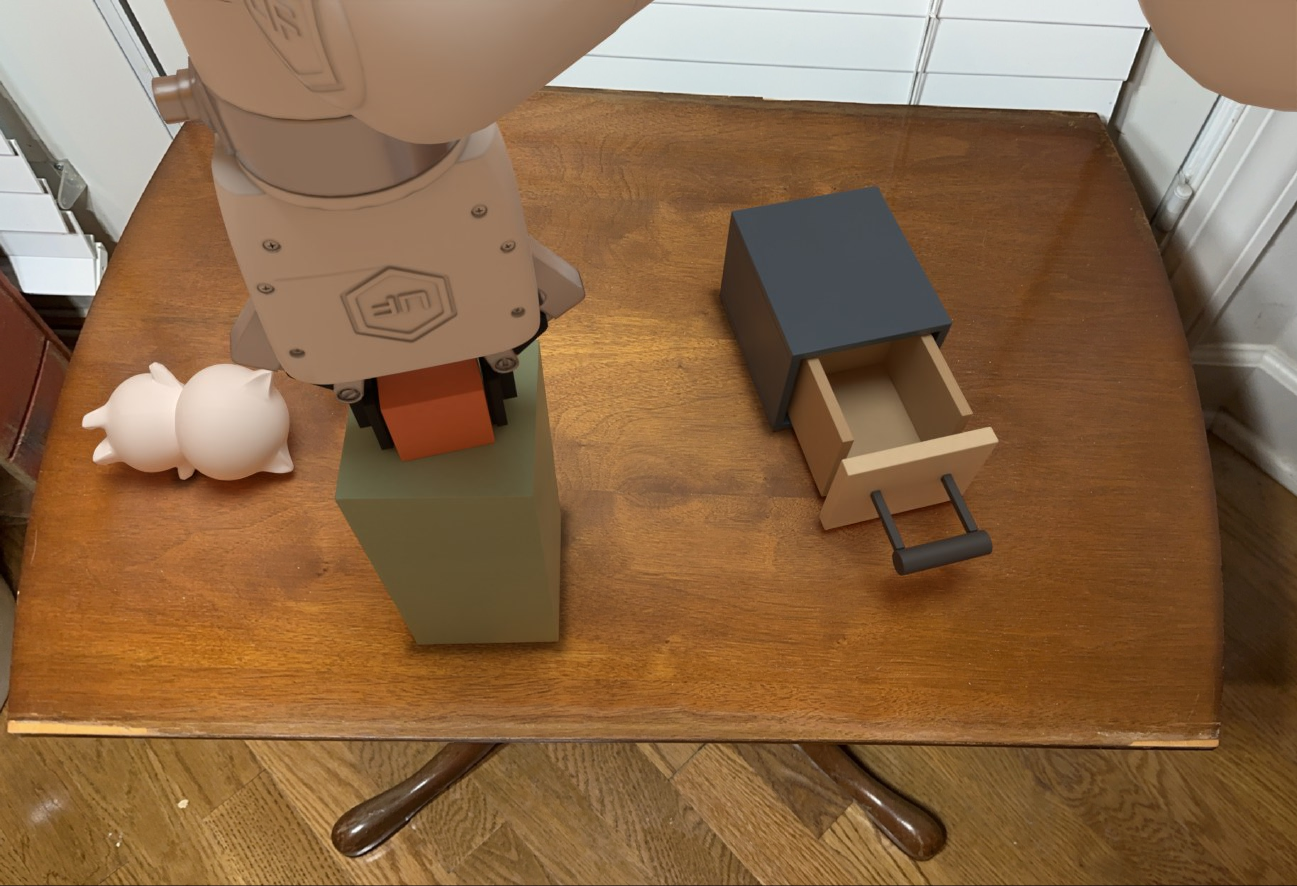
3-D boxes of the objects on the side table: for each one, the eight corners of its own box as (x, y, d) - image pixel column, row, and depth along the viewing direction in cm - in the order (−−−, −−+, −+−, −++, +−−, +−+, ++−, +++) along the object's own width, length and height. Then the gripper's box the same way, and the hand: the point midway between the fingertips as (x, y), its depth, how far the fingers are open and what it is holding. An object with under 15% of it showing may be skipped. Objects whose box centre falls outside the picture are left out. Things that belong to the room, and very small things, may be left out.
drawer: (997, 573, 61) (1042, 521, 55) (855, 608, 60) (884, 560, 53) (892, 359, 70) (920, 293, 64) (766, 385, 69) (782, 320, 62)
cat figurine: (57, 387, 57) (250, 383, 57) (140, 330, 66) (306, 327, 66) (97, 509, 61) (278, 505, 61) (170, 439, 70) (327, 436, 70)
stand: (558, 641, 59) (533, 496, 42) (417, 644, 59) (333, 499, 42) (561, 516, 64) (539, 339, 47) (430, 518, 63) (359, 341, 46)
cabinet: (914, 401, 69) (953, 323, 61) (772, 431, 68) (792, 355, 60) (850, 270, 76) (877, 185, 68) (719, 295, 74) (731, 210, 66)
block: (495, 443, 43) (483, 390, 40) (401, 462, 43) (380, 410, 39) (480, 369, 45) (467, 313, 42) (390, 387, 45) (369, 331, 41)
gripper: (41, 222, 25) (263, 519, 41) (638, 128, 28) (632, 441, 43) (59, 53, 29) (256, 385, 44) (584, -16, 31) (596, 320, 47)
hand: (441, 410), depth 44 cm, fingers open, 4 cm apart
